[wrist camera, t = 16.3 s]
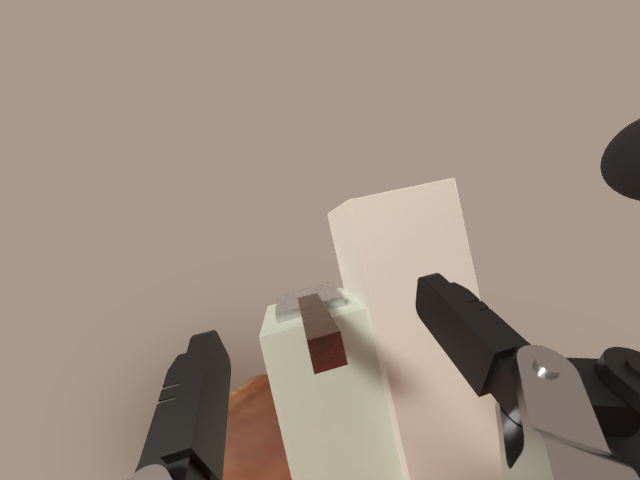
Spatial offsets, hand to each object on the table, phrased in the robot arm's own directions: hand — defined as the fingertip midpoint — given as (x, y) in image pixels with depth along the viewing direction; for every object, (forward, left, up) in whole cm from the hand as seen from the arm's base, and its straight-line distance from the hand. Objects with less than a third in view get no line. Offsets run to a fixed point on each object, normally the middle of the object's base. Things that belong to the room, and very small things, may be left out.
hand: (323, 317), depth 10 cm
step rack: (-5, -18, -25) cm, 32 cm away
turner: (0, -15, -4) cm, 16 cm away
